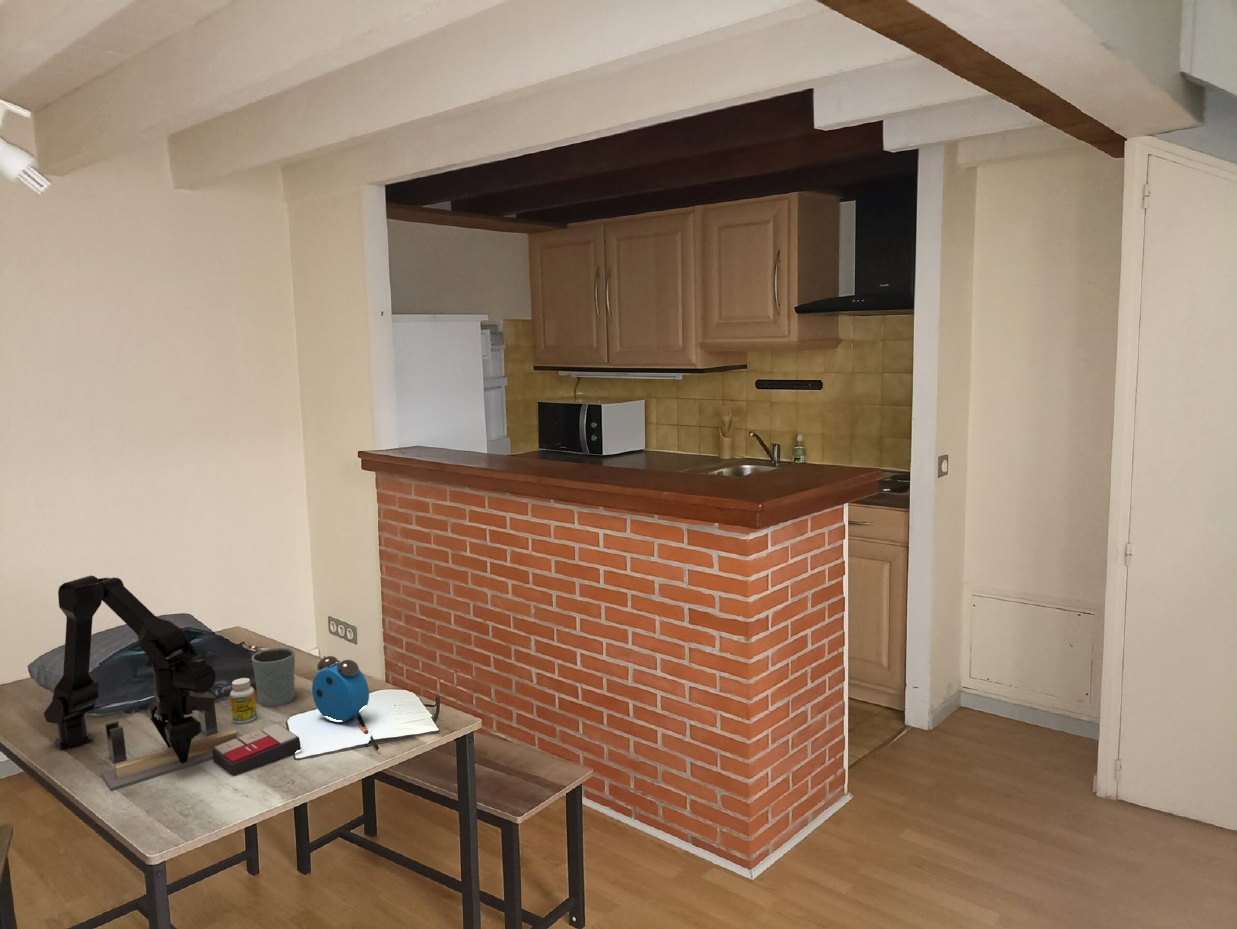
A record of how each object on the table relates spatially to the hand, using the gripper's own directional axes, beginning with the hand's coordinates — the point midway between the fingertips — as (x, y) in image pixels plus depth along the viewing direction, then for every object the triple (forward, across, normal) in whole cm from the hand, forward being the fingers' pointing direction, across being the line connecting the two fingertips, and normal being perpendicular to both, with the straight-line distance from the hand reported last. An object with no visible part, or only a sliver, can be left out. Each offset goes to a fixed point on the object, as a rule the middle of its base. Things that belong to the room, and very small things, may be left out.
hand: (177, 755), depth 197 cm
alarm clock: (+1, -5, -35) cm, 35 cm away
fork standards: (+1, +11, 0) cm, 11 cm away
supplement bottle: (+1, +12, -18) cm, 22 cm away
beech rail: (+1, 0, 0) cm, 1 cm away
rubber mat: (+1, 0, 0) cm, 1 cm away
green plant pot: (+1, +18, -28) cm, 33 cm away
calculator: (+2, -10, -13) cm, 17 cm away
